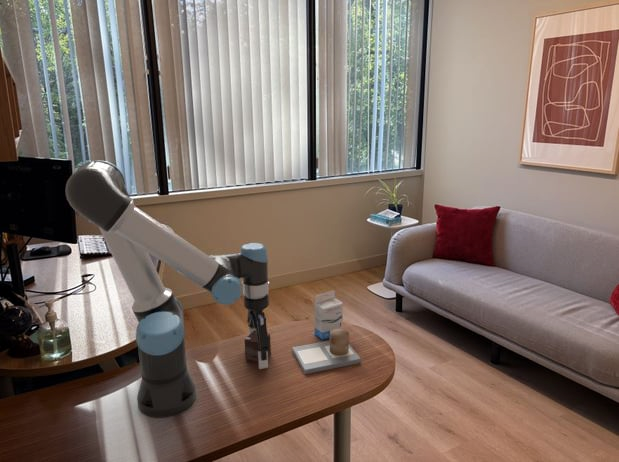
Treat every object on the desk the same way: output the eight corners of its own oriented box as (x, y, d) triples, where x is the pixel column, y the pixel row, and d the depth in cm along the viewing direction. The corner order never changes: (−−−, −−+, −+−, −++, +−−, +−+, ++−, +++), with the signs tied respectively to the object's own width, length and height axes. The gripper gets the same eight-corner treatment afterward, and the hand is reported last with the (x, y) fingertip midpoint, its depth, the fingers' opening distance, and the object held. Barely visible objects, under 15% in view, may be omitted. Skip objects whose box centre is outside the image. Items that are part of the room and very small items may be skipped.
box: (271, 354, 147) (270, 334, 144) (261, 364, 141) (261, 343, 139) (255, 350, 149) (254, 329, 147) (244, 359, 144) (243, 338, 142)
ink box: (322, 340, 154) (322, 300, 150) (314, 334, 158) (314, 295, 154) (342, 333, 159) (343, 294, 155) (334, 327, 163) (334, 289, 159)
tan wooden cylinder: (326, 347, 148) (327, 330, 146) (344, 344, 150) (344, 327, 148) (333, 357, 142) (334, 339, 140) (351, 353, 144) (352, 336, 142)
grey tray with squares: (305, 374, 136) (305, 369, 136) (292, 351, 148) (292, 347, 148) (360, 362, 142) (360, 358, 142) (343, 341, 154) (344, 337, 153)
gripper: (278, 309, 129) (280, 376, 135) (258, 277, 151) (261, 335, 157) (252, 314, 127) (255, 381, 133) (236, 280, 149) (239, 339, 155)
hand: (258, 356), depth 145 cm, fingers open, 12 cm apart
